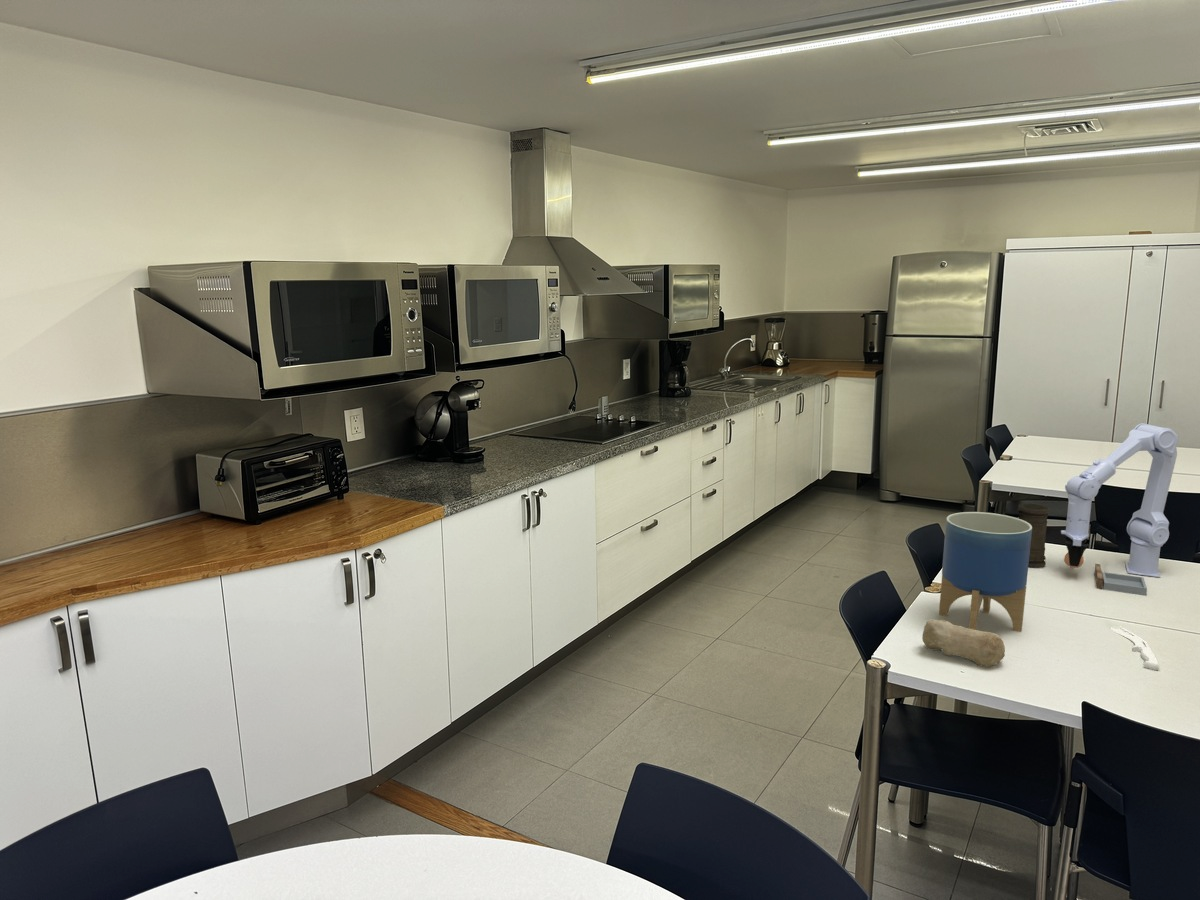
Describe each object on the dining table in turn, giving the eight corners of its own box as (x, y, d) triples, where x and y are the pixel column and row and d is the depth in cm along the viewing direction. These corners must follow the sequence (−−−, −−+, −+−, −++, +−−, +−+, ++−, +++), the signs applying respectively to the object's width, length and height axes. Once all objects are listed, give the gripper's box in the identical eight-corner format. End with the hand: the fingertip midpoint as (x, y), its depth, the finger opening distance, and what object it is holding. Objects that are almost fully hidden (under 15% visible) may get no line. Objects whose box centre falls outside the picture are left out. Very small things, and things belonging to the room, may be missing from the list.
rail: (1094, 573, 241) (1095, 563, 241) (1099, 573, 241) (1100, 564, 240) (1096, 588, 229) (1098, 578, 229) (1101, 589, 229) (1103, 579, 228)
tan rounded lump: (931, 626, 197) (925, 606, 190) (1010, 642, 187) (1006, 621, 180) (922, 658, 193) (916, 639, 186) (1002, 677, 183) (998, 657, 176)
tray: (1101, 578, 237) (1102, 571, 237) (1142, 584, 233) (1143, 577, 232) (1103, 589, 229) (1104, 582, 228) (1146, 595, 224) (1147, 588, 224)
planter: (948, 602, 220) (956, 507, 215) (1027, 618, 209) (1037, 519, 204) (930, 626, 204) (937, 525, 199) (1014, 645, 193) (1025, 538, 188)
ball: (1063, 563, 243) (1064, 547, 242) (1082, 566, 240) (1084, 550, 239) (1063, 568, 238) (1065, 552, 237) (1083, 571, 236) (1085, 554, 235)
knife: (1100, 615, 210) (1136, 619, 207) (1100, 621, 210) (1135, 625, 207) (1119, 659, 183) (1161, 664, 180) (1119, 666, 183) (1160, 671, 180)
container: (1050, 568, 246) (1056, 510, 242) (1020, 568, 246) (1026, 510, 243) (1035, 558, 255) (1041, 502, 251) (1006, 558, 255) (1011, 502, 251)
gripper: (1062, 510, 245) (1057, 553, 247) (1062, 522, 232) (1058, 568, 235) (1089, 513, 241) (1084, 557, 244) (1091, 525, 229) (1086, 571, 231)
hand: (1073, 562), depth 239 cm, fingers closed on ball, 5 cm apart
